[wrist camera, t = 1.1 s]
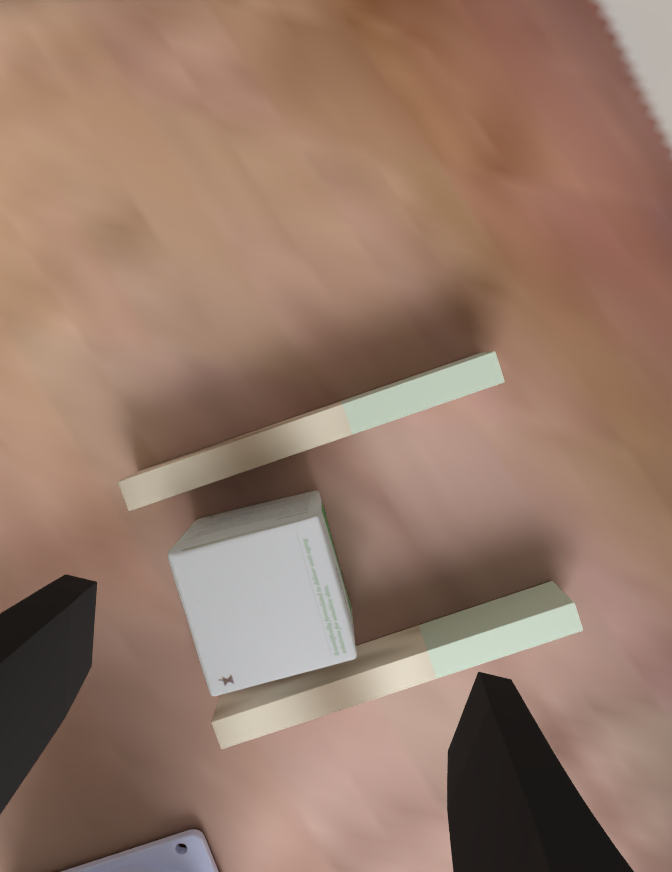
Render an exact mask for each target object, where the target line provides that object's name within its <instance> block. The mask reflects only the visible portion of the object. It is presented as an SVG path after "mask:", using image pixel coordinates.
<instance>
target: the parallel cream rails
mask: <svg viewBox="0 0 672 872" xmlns="http://www.w3.org/2000/svg"><path fill="white" fill-rule="evenodd" d="M504 382H505V381H504V378H503V375H502V372H501V368H500V365H499V362H498V359H497V356H496V353H495V351H494V352H484V353H478V354H475V355H472V356H469V357H467V358H464V359H461V360H458V361H455V362H452V363H449V364H446V365H443V366H441V367H438V368H435V369H432V370H429V371H426V372H423V373H420V374H417V375H415V376H412V377H409V378H406V379H403V380H400V381H397V382H394V383H391V384H389V385H386V386H383V387H380V388H377V389H374V390H371V391H368V392H365V393H363V394H360V395H357V396H354V397H351V398H348V399H345V400H342V401H339V402H337V403H334V404H331V405H328V406H325V407H322V408H319V409H316V410H313V411H311V412H308V413H305V414H302V415H299V416H296V417H293V418H290V419H287V420H285V421H282V422H279V423H276V424H273V425H270V426H267V427H264V428H261V429H259V430H256V431H253V432H250V433H247V434H244V435H241V436H238V437H235V438H233V439H230V440H227V441H224V442H221V443H218V444H215V445H212V446H209V447H207V448H204V449H201V450H198V451H195V452H192V453H189V454H186V455H183V456H181V457H178V458H175V459H172V460H169V461H166V462H163V463H160V464H157V465H155V466H152V467H149V468H146V469H143V470H140V471H137V472H136V473H134V474H132V475H130V476H128V477H126V478H124V479H122V480H120V481H119V482H118V484H119V487H120V490H121V492H122V495H123V497H124V500H125V502H126V505H127V508H128V510H129V511H132V510H134V509H137V508H140V507H143V506H146V505H149V504H152V503H155V502H158V501H161V500H164V499H166V498H169V497H172V496H175V495H178V494H181V493H184V492H187V491H190V490H193V489H195V488H198V487H201V486H204V485H207V484H210V483H213V482H216V481H219V480H222V479H225V478H227V477H230V476H233V475H236V474H239V473H242V472H245V471H248V470H251V469H254V468H257V467H259V466H262V465H265V464H268V463H271V462H274V461H277V460H280V459H283V458H286V457H289V456H291V455H294V454H297V453H300V452H303V451H306V450H309V449H312V448H315V447H318V446H321V445H323V444H326V443H329V442H332V441H335V440H338V439H341V438H344V437H347V436H350V435H352V434H355V433H358V432H361V431H364V430H367V429H370V428H373V427H376V426H379V425H382V424H384V423H387V422H390V421H393V420H396V419H399V418H402V417H405V416H408V415H411V414H414V413H416V412H419V411H422V410H425V409H428V408H431V407H434V406H437V405H440V404H443V403H446V402H448V401H451V400H454V399H457V398H460V397H463V396H466V395H469V394H472V393H475V392H478V391H480V390H483V389H486V388H489V387H492V386H495V385H498V384H501V383H504ZM580 631H583V628H582V625H581V622H580V618H579V615H578V612H577V609H576V606H575V603H574V601H572V600H571V599H570V598H569V597H568V596H567V595H566V594H565V593H564V592H563V591H562V590H561V589H560V588H559V587H558V586H557V585H556V584H555V583H554V582H553V581H550V582H547V583H544V584H541V585H538V586H535V587H532V588H529V589H526V590H523V591H520V592H517V593H514V594H511V595H508V596H505V597H502V598H499V599H496V600H493V601H490V602H487V603H484V604H481V605H478V606H475V607H472V608H469V609H466V610H463V611H460V612H457V613H454V614H451V615H448V616H445V617H442V618H439V619H436V620H433V621H429V622H426V623H423V624H420V625H417V626H414V627H411V628H408V629H405V630H402V631H399V632H396V633H393V634H390V635H387V636H384V637H381V638H378V639H375V640H372V641H369V642H366V643H363V644H360V645H357V646H356V652H357V656H356V658H355V659H353V660H349V661H345V662H342V663H338V664H334V665H331V666H327V667H324V668H320V669H316V670H312V671H308V672H304V673H300V674H296V675H293V676H289V677H285V678H282V679H277V680H274V681H270V682H266V683H263V684H259V685H255V686H251V687H248V688H244V689H241V690H237V691H233V692H229V693H225V694H221V695H220V698H219V701H218V704H217V707H216V710H215V713H214V715H213V718H212V721H211V723H212V726H213V729H214V731H215V734H216V736H217V739H218V741H219V744H220V747H221V749H224V748H227V747H230V746H233V745H236V744H239V743H243V742H246V741H249V740H252V739H255V738H258V737H261V736H264V735H267V734H270V733H273V732H276V731H279V730H282V729H285V728H288V727H291V726H294V725H297V724H300V723H303V722H306V721H309V720H312V719H316V718H319V717H322V716H325V715H328V714H331V713H334V712H337V711H340V710H343V709H346V708H349V707H352V706H355V705H358V704H361V703H364V702H367V701H370V700H373V699H376V698H379V697H382V696H386V695H389V694H392V693H395V692H398V691H401V690H404V689H407V688H410V687H413V686H416V685H419V684H422V683H425V682H428V681H431V680H434V679H437V678H440V677H443V676H446V675H449V674H452V673H455V672H459V671H462V670H465V669H468V668H471V667H474V666H477V665H480V664H483V663H486V662H489V661H492V660H495V659H498V658H501V657H504V656H507V655H510V654H513V653H516V652H519V651H522V650H525V649H529V648H532V647H535V646H538V645H541V644H544V643H547V642H550V641H553V640H556V639H559V638H562V637H565V636H568V635H571V634H574V633H577V632H580Z"/></svg>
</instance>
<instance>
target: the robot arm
mask: <svg viewBox="0 0 672 872" xmlns="http://www.w3.org/2000/svg"><path fill="white" fill-rule="evenodd" d="M96 591H97V582H95V581H91V580H87V579H83V578H78V577H74V576H70V575H66V574H65V575H64V576H62V577H60V578H58V579H57V580H55V581H53V582H52V583H50V584H48V585H46V586H45V587H43V588H42V589H40V590H38V591H37V592H35V593H33V594H32V595H30V596H28V597H27V598H25V599H24V600H22V601H20V602H19V603H17V604H15V605H14V606H12V607H10V608H9V609H7V610H5V611H4V612H2V613H1V614H0V814H1V813H2V811H3V810H4V808H5V807H6V805H7V804H8V802H9V801H10V799H11V798H12V796H13V795H14V793H15V792H16V790H17V789H18V787H19V786H20V784H21V783H22V781H23V780H24V779H25V777H26V776H27V774H28V773H29V771H30V770H31V768H32V767H33V765H34V764H35V762H36V761H37V759H38V758H39V756H40V755H41V753H42V752H43V750H44V749H45V747H46V746H47V744H48V743H49V741H50V740H51V738H52V737H53V735H54V734H55V732H56V731H57V729H58V728H59V726H60V725H61V723H62V721H63V720H64V718H65V717H66V715H67V713H68V711H69V709H70V707H71V705H72V703H73V702H74V700H75V698H76V696H77V694H78V692H79V690H80V688H81V686H82V684H83V682H84V680H85V678H86V676H87V674H88V672H89V670H90V668H91V664H92V650H93V635H94V620H95V606H96ZM447 811H448V822H449V832H450V842H451V852H452V862H453V871H454V872H634V871H633V870H632V869H631V867H630V866H629V864H628V863H627V862H626V860H625V859H624V858H623V856H622V855H621V854H620V852H619V851H618V850H617V848H616V847H615V845H614V844H613V843H612V841H611V840H610V838H609V837H608V835H607V834H606V832H605V831H604V830H603V828H602V827H601V825H600V824H599V822H598V821H597V820H596V818H595V817H594V815H593V814H592V812H591V811H590V809H589V808H588V806H587V805H586V803H585V802H584V800H583V799H582V797H581V796H580V794H579V792H578V791H577V789H576V788H575V786H574V784H573V783H572V781H571V780H570V778H569V776H568V775H567V773H566V772H565V770H564V768H563V767H562V765H561V764H560V762H559V760H558V759H557V757H556V755H555V754H554V752H553V750H552V749H551V747H550V745H549V744H548V742H547V740H546V739H545V737H544V735H543V733H542V732H541V730H540V728H539V727H538V725H537V723H536V721H535V720H534V718H533V716H532V715H531V713H530V711H529V709H528V708H527V706H526V704H525V702H524V701H523V699H522V697H521V695H520V694H519V692H518V690H517V689H516V687H515V685H514V684H513V682H512V680H511V679H507V678H503V677H498V676H494V675H490V674H486V673H481V672H478V674H477V677H476V679H475V682H474V685H473V687H472V690H471V692H470V695H469V698H468V700H467V703H466V705H465V708H464V711H463V713H462V716H461V718H460V721H459V724H458V726H457V729H456V731H455V734H454V737H453V739H452V742H451V744H450V747H449V750H448V774H447ZM178 844H185V845H186V846H187V847H186V848H182V847H180V846H179V845H178ZM61 872H219V871H218V869H217V866H216V864H215V861H214V859H213V856H212V854H211V851H210V849H209V846H208V844H207V841H206V839H205V836H204V835H203V833H202V832H200V831H199V830H196V829H192V830H188V831H184V832H181V833H178V834H175V835H172V836H169V837H166V838H163V839H160V840H157V841H154V842H151V843H148V844H144V845H141V846H138V847H135V848H132V849H129V850H126V851H123V852H120V853H117V854H114V855H111V856H107V857H104V858H101V859H98V860H95V861H92V862H89V863H86V864H83V865H80V866H77V867H74V868H71V869H67V870H64V871H61Z"/></svg>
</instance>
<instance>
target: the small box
mask: <svg viewBox="0 0 672 872" xmlns="http://www.w3.org/2000/svg"><path fill="white" fill-rule="evenodd" d="M168 560H169V563H170V567H171V570H172V573H173V576H174V580H175V583H176V586H177V590H178V593H179V596H180V599H181V602H182V605H183V608H184V611H185V614H186V617H187V621H188V624H189V627H190V630H191V634H192V637H193V641H194V644H195V647H196V651H197V654H198V657H199V660H200V664H201V667H202V670H203V673H204V676H205V679H206V682H207V685H208V689H209V692H210V694H211V696H218V695H221V694H225V693H229V692H233V691H237V690H241V689H244V688H248V687H251V686H255V685H259V684H263V683H266V682H270V681H274V680H277V679H282V678H285V677H289V676H293V675H296V674H300V673H304V672H308V671H312V670H316V669H320V668H324V667H327V666H331V665H334V664H338V663H342V662H345V661H349V660H353V659H355V658H356V656H357V652H356V646H355V638H354V627H353V617H352V608H351V604H350V601H349V598H348V594H347V591H346V587H345V584H344V580H343V577H342V573H341V570H340V566H339V563H338V559H337V556H336V552H335V548H334V545H333V541H332V537H331V534H330V530H329V526H328V522H327V518H326V514H325V511H324V507H323V503H322V499H321V496H320V493H319V491H317V490H316V491H311V492H307V493H302V494H298V495H294V496H289V497H285V498H281V499H277V500H272V501H268V502H264V503H260V504H256V505H251V506H247V507H243V508H239V509H235V510H230V511H226V512H222V513H218V514H215V515H211V516H207V517H203V518H199V519H196V520H195V521H194V522H193V524H192V525H191V526H190V527H189V529H188V530H187V531H186V532H185V533H184V534H183V536H182V537H181V538H180V539H179V540H178V542H177V543H176V544H175V545H174V546H173V547H172V548H171V549H170V550H169V551H168Z"/></svg>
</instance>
